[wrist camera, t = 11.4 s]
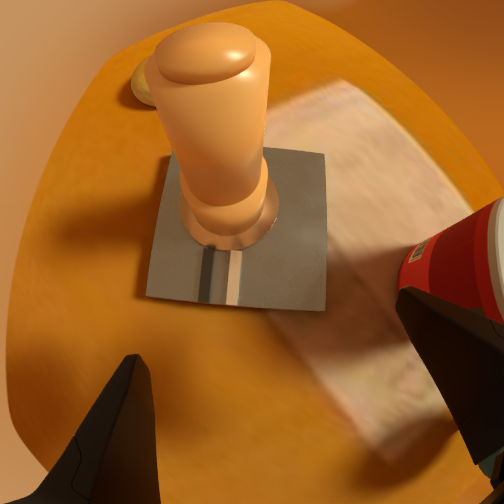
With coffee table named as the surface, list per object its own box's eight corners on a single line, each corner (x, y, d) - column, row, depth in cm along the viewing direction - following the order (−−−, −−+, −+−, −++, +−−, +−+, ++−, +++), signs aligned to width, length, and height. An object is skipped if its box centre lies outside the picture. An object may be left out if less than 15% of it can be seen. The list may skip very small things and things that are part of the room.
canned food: (389, 334, 18) (495, 336, 8) (394, 235, 20) (483, 174, 10) (455, 336, 18) (551, 331, 8) (457, 249, 20) (542, 209, 9)
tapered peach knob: (246, 247, 18) (243, 108, 6) (179, 219, 18) (97, 81, 6) (275, 185, 19) (304, 27, 7) (212, 162, 20) (182, 9, 7)
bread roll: (136, 75, 25) (127, 51, 21) (210, 56, 26) (206, 31, 22) (133, 121, 23) (120, 94, 19) (221, 98, 24) (218, 69, 20)
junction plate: (319, 311, 19) (326, 310, 17) (152, 297, 19) (143, 295, 17) (319, 163, 22) (325, 151, 20) (178, 154, 22) (173, 141, 20)
